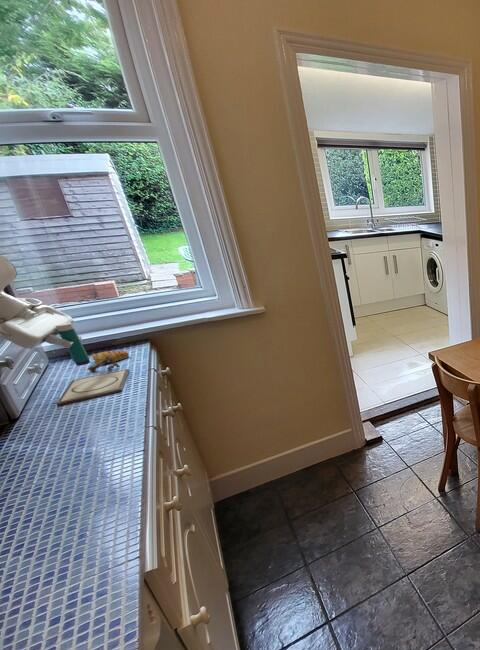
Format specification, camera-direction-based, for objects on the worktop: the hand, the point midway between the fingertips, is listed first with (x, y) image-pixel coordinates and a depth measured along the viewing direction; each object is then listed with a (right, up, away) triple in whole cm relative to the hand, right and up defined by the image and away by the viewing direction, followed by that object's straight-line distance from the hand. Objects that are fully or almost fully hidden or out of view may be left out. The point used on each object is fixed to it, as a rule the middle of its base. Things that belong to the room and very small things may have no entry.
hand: (75, 342), depth 116 cm
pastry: (-21, -5, +32) cm, 38 cm away
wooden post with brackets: (-15, -8, +24) cm, 30 cm away
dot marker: (0, -6, +2) cm, 6 cm away
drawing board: (-5, -13, +11) cm, 18 cm away
